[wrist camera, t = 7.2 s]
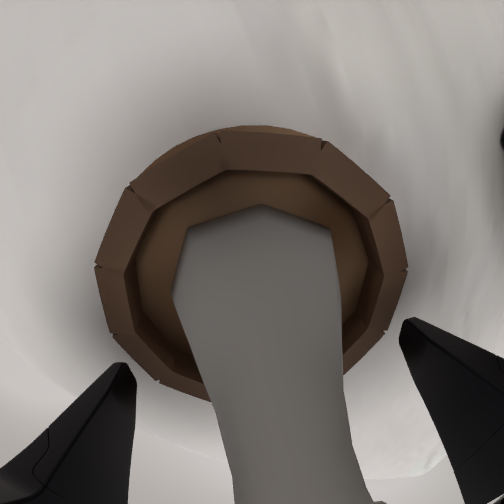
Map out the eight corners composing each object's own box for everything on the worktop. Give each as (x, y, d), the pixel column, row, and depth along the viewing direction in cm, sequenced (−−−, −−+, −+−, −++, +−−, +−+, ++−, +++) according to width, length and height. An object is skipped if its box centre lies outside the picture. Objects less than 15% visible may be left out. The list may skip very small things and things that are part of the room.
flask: (163, 202, 10) (-8, 486, 1) (350, 204, 10) (564, 389, 1) (180, 350, 13) (162, 554, 4) (324, 344, 13) (394, 523, 4)
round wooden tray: (427, 237, 12) (452, 254, 10) (282, 399, 16) (287, 425, 14) (204, 65, 8) (199, 49, 6) (82, 314, 12) (66, 339, 10)
